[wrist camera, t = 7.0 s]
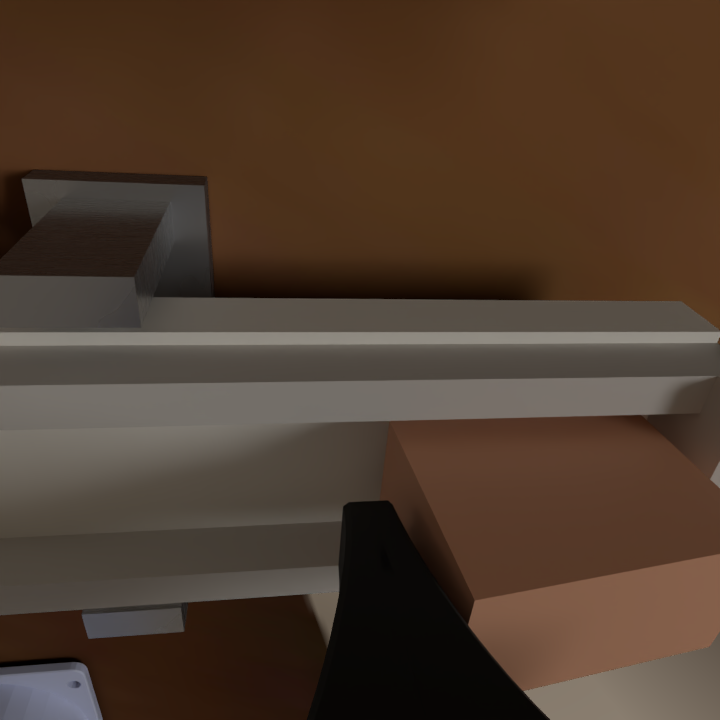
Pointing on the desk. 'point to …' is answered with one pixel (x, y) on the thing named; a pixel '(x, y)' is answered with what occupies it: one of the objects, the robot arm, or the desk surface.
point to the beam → (290, 428)
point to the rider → (562, 538)
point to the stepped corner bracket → (108, 284)
